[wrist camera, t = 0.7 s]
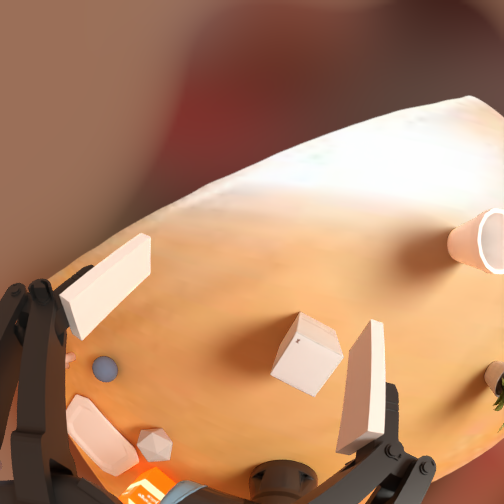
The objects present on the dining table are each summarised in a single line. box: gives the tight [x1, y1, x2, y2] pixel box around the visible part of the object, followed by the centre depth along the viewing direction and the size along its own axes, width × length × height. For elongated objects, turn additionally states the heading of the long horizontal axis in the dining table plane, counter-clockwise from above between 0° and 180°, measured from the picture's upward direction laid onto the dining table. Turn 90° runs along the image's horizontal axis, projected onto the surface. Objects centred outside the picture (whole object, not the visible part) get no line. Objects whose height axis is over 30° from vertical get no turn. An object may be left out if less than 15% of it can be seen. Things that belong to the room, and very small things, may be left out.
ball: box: [92, 356, 118, 382], centre depth 51 cm, size 6×6×6 cm
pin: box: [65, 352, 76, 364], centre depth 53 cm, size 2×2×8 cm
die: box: [137, 428, 173, 462], centre depth 48 cm, size 8×9×10 cm
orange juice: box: [118, 467, 176, 504], centre depth 43 cm, size 8×9×20 cm
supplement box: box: [270, 312, 344, 397], centre depth 39 cm, size 7×7×13 cm
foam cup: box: [447, 208, 504, 274], centre depth 34 cm, size 10×9×13 cm
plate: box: [66, 394, 139, 476], centre depth 56 cm, size 25×25×2 cm
